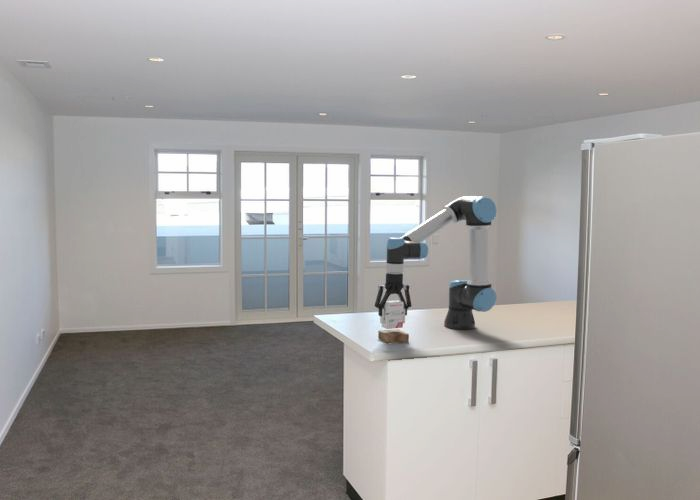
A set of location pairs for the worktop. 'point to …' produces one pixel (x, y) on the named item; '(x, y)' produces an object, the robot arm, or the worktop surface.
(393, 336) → the walnut block
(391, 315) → the ink box
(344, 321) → the worktop surface
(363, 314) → the worktop surface
